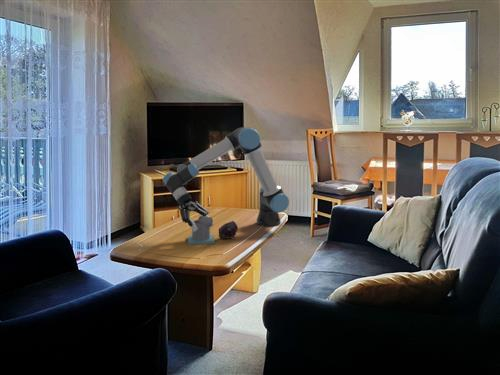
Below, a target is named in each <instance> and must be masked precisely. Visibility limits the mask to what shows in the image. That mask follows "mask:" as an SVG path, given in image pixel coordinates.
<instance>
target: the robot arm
mask: <svg viewBox="0 0 500 375" xmlns="http://www.w3.org/2000/svg"><path fill="white" fill-rule="evenodd" d="M261 143H262V142H261V135H260V134H259V132H258V130H256V129H255V128H252V127H247V126H246V127H238V128H236V129H235V130H234V131H232V132H230V133H229V134H227V135H226V136H225V137H224V139H222V140H221V141H219V142H217V143H216V144H213V146H211V147H209V148H208V149H207V148H206V150H204V151H203V152H201V153H199V154H197V155H196V156H194V157H192V158H190V159H189V160H188V161H186V162H184V163H181V164H179V165H178V166H177V169H176V173H174V172H173V171H170V172H167V173H165V175H164V176H163V177H162V181H163V183H164V186H165V187H166V188H167V189H168V191H169V192H170V194H171V195H172V196H173V198H174V199H175V200H176V202H177V204H178V210H179V213H180V216H181V217H180V218H181V221H182V222H183V223H185V224H188V226H189V227H190V228H191V231H192V230H193V231H194V232H196V231H197V229H198V228H197V227H196V225H195V224H194V222H193V221H194V220H192V218H190V217H191V214H190V212H194V213H197V214H199V215H200V216H206V217H210V216H209V214H210V211H209V210H208V209H206V208H205V207H204V206H203V205H201V204H200V203H199V202H198V200H196V201H194V202H193V198H192V196H191V194H189V192H188V190H187V189H186V187H184V185H185V184H187V183H189V182H190V181H192V180H193V179H195V178H196V177H197V176H199V175H200V171H199V170H201V169H203V168H204V167H206V166H207V165H209V164H211V163H212V162H214V161H215V160H217V159H219V158H220V157H222V156H225V155H226V154H228V153H229V152H230V151H232V152H233V151H235V150H237V149H240V150H241V152H242V154H243V155H245V156H247V158H248V161H249V163H250V164H251V167H252V168H253V171H254V173H255V175H256V177H257V180H258V181H259V183H260V185H261V188H260V189H259V192H258V193H259V212H258V215H257V217H256V225H258V226H262V225H264V227H273V226H272V225H276V226H279V224H280V225H281V221H282V220H281V218H280V214H279V213H283V212H285V211H286V210H287V209H288V208H289V206H290V198H289V196H287V195H286V194H285V193H284V191H283V188H282V186H280V185H278V184H277V182H276V180H275V177H274V176H273V173H272V170H271V169H270V167H269V164H268V163H267V160H266V158H265V156H264V153H263V151H262V147H263V146H262V144H261ZM213 225H215V223H214V222H213V224H212V226H211V227H213ZM211 227H210V228H211Z"/></svg>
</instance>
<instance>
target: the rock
mask: <svg viewBox="0 0 500 375" xmlns="http://www.w3.org/2000/svg"><path fill="white" fill-rule="evenodd" d="M238 230H239V229H238V225H237V223H236V222H235V221H234V220H232V221H231V220H230V221H229V222H226V223H224V224H223V225H221V226H220V227H219V228H218V238H220V239H221V240H227V239H233V238H234V237H235V236H236V234H237V232H238Z"/></svg>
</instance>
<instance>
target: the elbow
mask: <svg viewBox="0 0 500 375" xmlns="http://www.w3.org/2000/svg"><path fill="white" fill-rule="evenodd" d="M192 221H193V222H194V224H195V225H196V227H197V228H198V229H197V231H196V232H194V231H193V230H192V229H191V236H192V239H193V240H201V241H202V240H208V239H209V238H210V235H211V226H212V227H213V225H214V224H213V223H214V220H213V218H212V217H211V216H209V217H206V216H202V215H199V217H198V219H196V220H192ZM212 224H213V225H212Z"/></svg>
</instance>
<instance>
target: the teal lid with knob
mask: <svg viewBox="0 0 500 375" xmlns="http://www.w3.org/2000/svg"><path fill="white" fill-rule="evenodd" d="M208 244H209V245H214V244H215V235H214V234H210V238H209V239H208V240H202V241H201V240H193V239H192V235H187V245H208Z"/></svg>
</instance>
